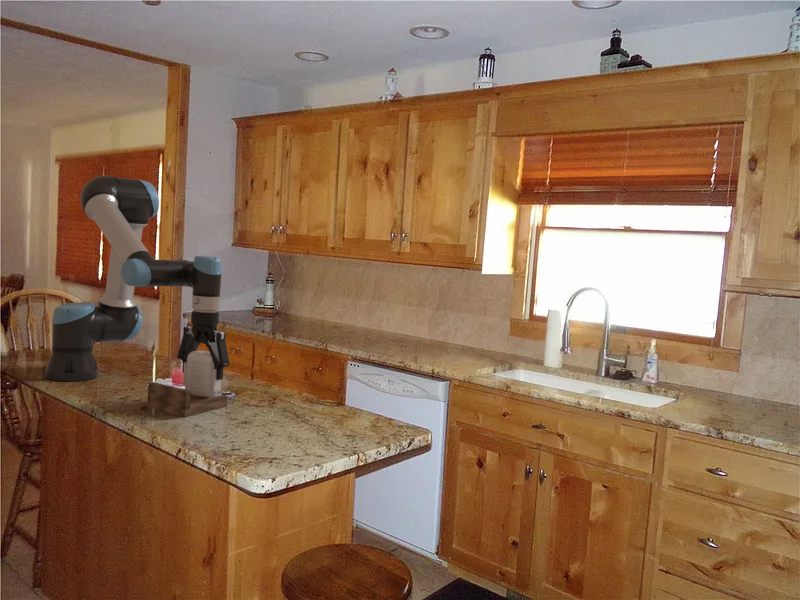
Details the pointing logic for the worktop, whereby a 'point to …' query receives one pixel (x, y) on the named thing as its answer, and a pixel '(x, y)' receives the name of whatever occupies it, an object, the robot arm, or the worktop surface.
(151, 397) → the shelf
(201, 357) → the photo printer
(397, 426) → the worktop surface
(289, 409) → the worktop surface
